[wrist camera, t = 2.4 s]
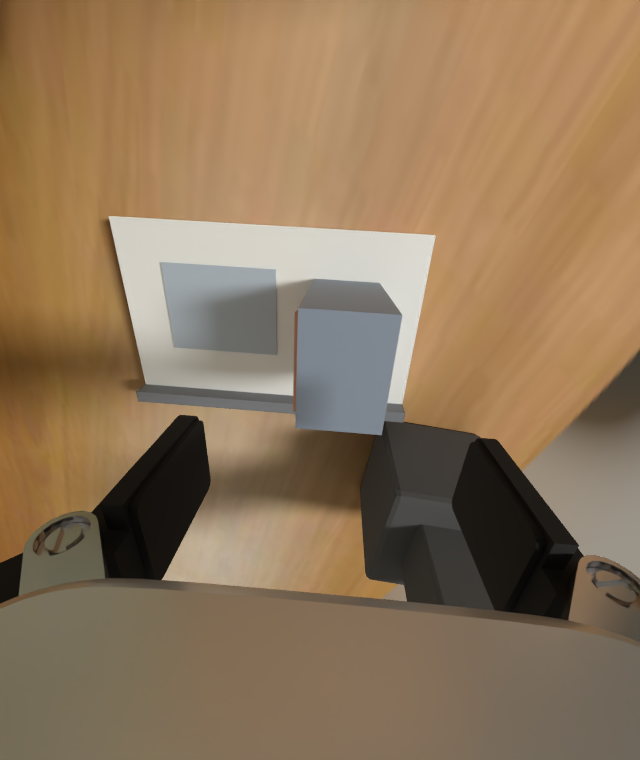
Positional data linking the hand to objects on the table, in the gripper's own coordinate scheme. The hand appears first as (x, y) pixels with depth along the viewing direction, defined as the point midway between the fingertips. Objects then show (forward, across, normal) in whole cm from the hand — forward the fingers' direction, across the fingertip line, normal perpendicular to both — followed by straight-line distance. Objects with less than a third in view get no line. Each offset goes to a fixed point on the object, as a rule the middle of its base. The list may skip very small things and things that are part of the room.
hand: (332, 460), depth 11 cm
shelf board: (+18, +6, -1) cm, 19 cm away
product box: (+16, 0, -1) cm, 16 cm away
